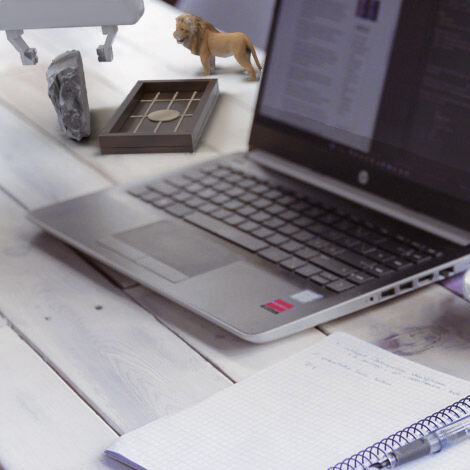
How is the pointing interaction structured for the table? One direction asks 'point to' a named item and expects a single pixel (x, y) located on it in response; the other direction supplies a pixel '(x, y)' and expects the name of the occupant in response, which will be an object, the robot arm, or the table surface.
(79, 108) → the stone
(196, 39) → the lion figurine
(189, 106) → the board
